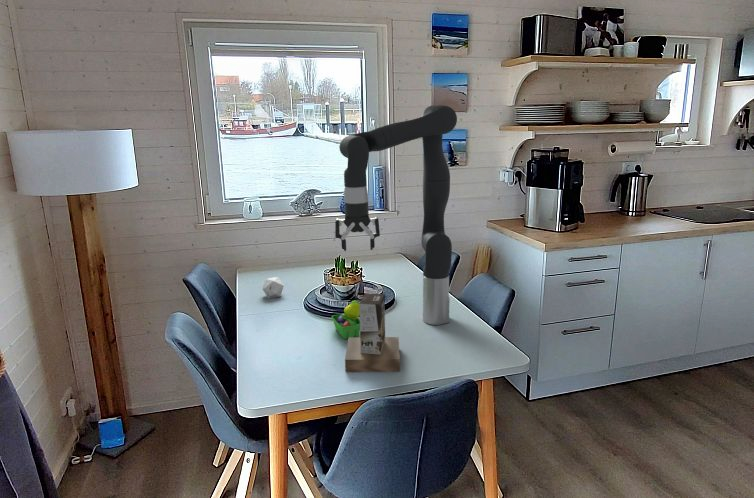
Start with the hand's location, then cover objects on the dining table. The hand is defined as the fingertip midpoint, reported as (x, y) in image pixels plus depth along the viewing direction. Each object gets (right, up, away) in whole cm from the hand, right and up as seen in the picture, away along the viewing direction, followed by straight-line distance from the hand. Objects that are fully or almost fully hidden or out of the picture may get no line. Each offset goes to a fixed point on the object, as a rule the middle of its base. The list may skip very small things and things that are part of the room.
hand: (358, 249), depth 165 cm
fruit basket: (-4, -29, +11) cm, 31 cm away
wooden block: (+5, -34, -8) cm, 35 cm away
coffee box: (+5, -30, -9) cm, 32 cm away
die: (-37, -20, +48) cm, 64 cm away
